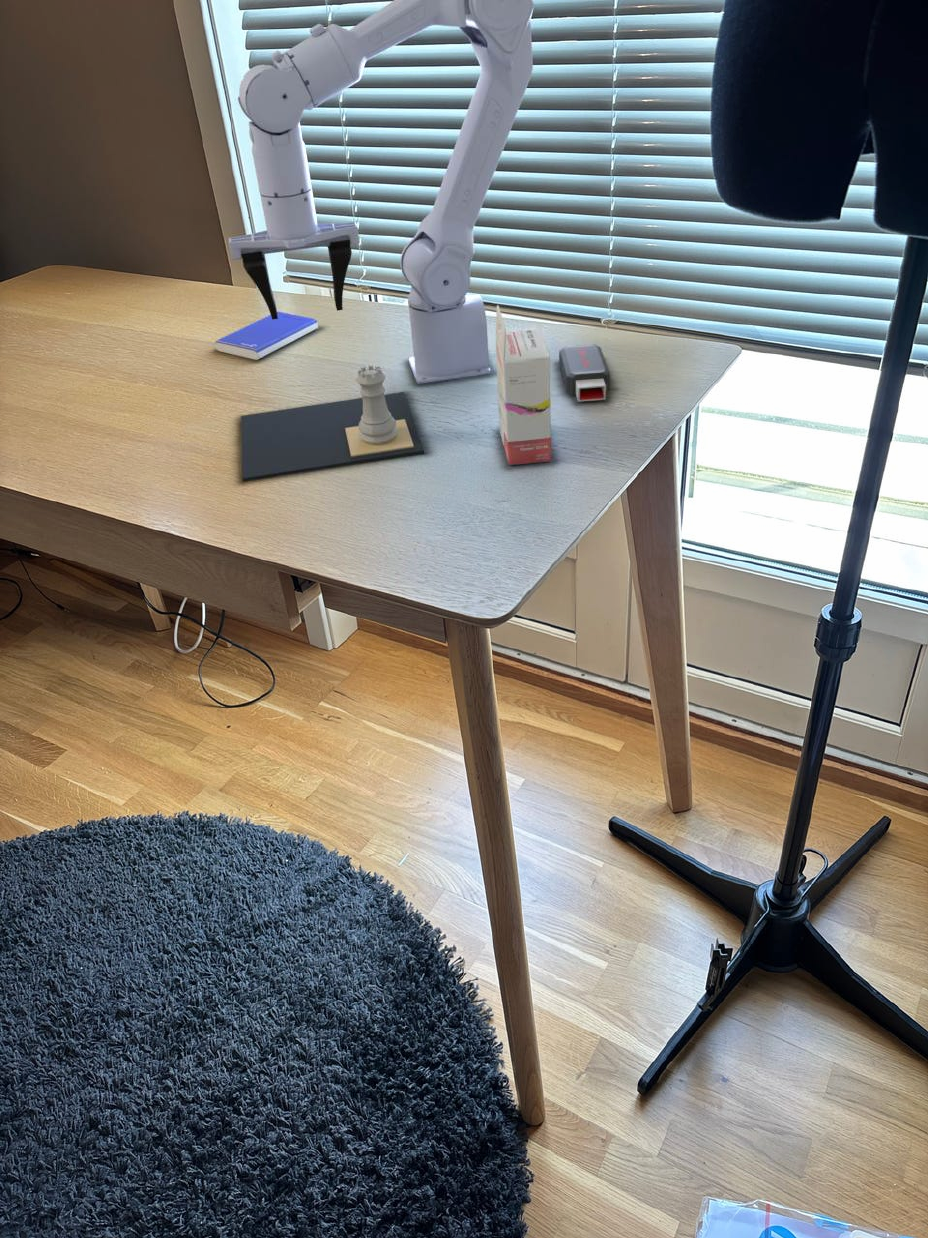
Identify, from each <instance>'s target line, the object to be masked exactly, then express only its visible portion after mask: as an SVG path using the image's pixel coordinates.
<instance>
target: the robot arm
mask: <svg viewBox="0 0 928 1238" xmlns="http://www.w3.org/2000/svg"><path fill="white" fill-rule="evenodd" d="M534 8H535V4H534V1H533V0H392V1H391V2H390V3H388V4H387V5H385V6H383V7H382V8H380V9H378V10H377V11H375V12H374V13H372V14H371V15H370V16H368V17H367V18H365V19H364V20H362V21H360V22H359V23H358V24H356V25H355V26H354V27H352V28H350V29H347V28H345V27H343V26H341V25H338V24H335V23H331V24H329V25H328V26H326V27H325V28H324V25H323V24H321V23H317V24H316V25H315V26H312V27H311V28H310V29H309V33H310V36H309V37H308V38H306V39H305V40H303V41H301V42H299V43H298V44H296V45H295V46H293V47H292V48H289V49H287V50H286V51H284V52H283V53H282V52H281V51H279V50H276V51H274V52H272V53H271V54H270V59H271V60H272V65H270V64H259V65H255V66H253V67H251V68H250V69H249V70H248V71H247V72H246V73H245V74H244V75H243V78H242V80H241V81H240V83H239V84H240V85H239V91H238V92H239V93H238V95H239V96H238V97H237V101H238V104H239V106H240V109H241V111H242V112H243V114H244V115H245V116H246V117H247V118H248V119H249V120H250V121H248V128H249V129H248V133H249V139H250V141H251V144H252V146H251V154H252V159H253V165H254V168H255V174H256V180H257V186H258V190H259V196H260V202H261V207H262V212H263V217H264V221H265V227H266V228H265V229H266V230H262V231H258V232H254V233H249V234H245V235H239V236H234V237H229V238H228V245H229V251H230V254H231V260H232V261H236V260H242V266H243V268H244V271H245V272H246V273H247V275H248V276H249V278H250V279H251V280H252V281H253V283H254V284H255V286H256V287H257V289H258V290H259V292H260V294H261V296H262V298H263V300H264V302H265V304H266V306H267V308H268V311H269V315H271V317H272V319H278V315H277V312H278V310H277V303H276V299H275V297H274V292H273V289H272V286H271V281H270V277H269V276H270V275H269V271H268V265H267V260H266V255H268V254H276V253H283V252H284V253H285V252H293V251H298V250H300V251H301V250H305V249H313V248H320V247H321V248H322V247H327V250H328V251H327V252H328V256H329V257H328V258H329V263H330V269H331V276H332V286H333V287H332V288H333V299H334V304H335V309H336V311H337V312H338V311H343V307H344V306H343V296H344V286H345V281H346V276H347V271H348V268H349V265H350V263H351V258H352V254H353V251H352V247H351V245H358V244H360V242H361V241H360V235H359V227H358V224H357V222H356V221H351V222H350V221H349V222H332V223H329V222H328V223H318V218H317V213H316V206H315V199H314V194H313V187H312V182H311V176H310V168H309V163H308V162H309V161H308V156H307V150H306V144H305V142H304V140H303V134H302V128H301V123H300V122H301V120H302V117H303V114H304V111H305V110H307V111H312V110H313V109H315V108H317V107H318V106H320V105H321V104H323V103H325V102H327V101H329V100H330V99H332V98H333V97H335V96H337V95H339V94H341V92H343V91H345V90H347V89H348V88H350V87H352V86H353V85H355V84H356V83H358V82H360V81H361V79H362V76H363V71H364V68H365V65H366V62H367V61H369V60H371V59H373V58H374V57H376V56H378V55H380V54H382V53H384V52H386V51H387V50H389V49H391V48H393V47H395V46H397V45H398V44H400V43H402V42H404V41H406V40H408V39H409V38H411V37H413V36H416V35H417V34H419V33H421V32H423V31H424V30H427V29H428V28H430V27H432V26H439V27H451V28H453V27H454V28H459V29H460V30H461V32H462V33H463V34H464V35H465V36H466V38H467V39H468V40H469V41H470V45H471V47H472V49H473V52H474V55H475V57H476V59H477V61H478V64H479V66H480V70H481V71H480V75H479V78H478V81H477V83H476V86H475V88H474V92H473V95H472V97H471V100H470V102H469V106H468V107H467V111H466V115H465V117H464V120H463V122H462V126H461V128H460V131H459V134H458V137H457V138H456V139H457V140H456V142H455V145H454V148H453V151H452V153H451V157H450V159H449V162H448V165H447V168H446V170H445V173H444V176H443V178H442V180H441V181H442V182H441V185H440V187H439V190H438V193H437V196H436V197H435V198H436V199H435V202H434V204H433V208H432V209H431V211H430V212H429V213H428V214H427V215H426V217H424V218H423V219H422V220H421V222H419V226H418V229H417V231H416V233H415V235H414V236H413V237H412V239H410V241H409V242H407V243H406V245H405V246H404V248H403V250H402V252H401V255H400V260H399V261H400V263H399V265H400V271H401V274H402V276H403V277H404V279H405V280H406V281H407V282H408V283H409V284H410V291H409V294H408V296H407V304H408V313H409V314H408V315H409V322H410V324H409V325H410V333H411V342H412V350H413V352H412V353H413V356H410V357H409V358H408V359H407V360H408V364H409V366H410V368H411V371H412V374H413V377H414V379H415V382H416V383H417V384H419V385H422V384H428V383H429V384H430V383H435V382H441V381H448V380H449V381H451V380H456V379H462V378H469V377H470V378H471V377H476V376H482V375H489V374H491V368H490V355H489V339H488V338H489V337H488V323H487V315H486V309H485V304H484V301H483V298H482V296H481V295H480V294H468V292H469V289H470V284H471V263H472V260H473V258H474V255H475V243H474V227H475V225H476V222H477V220H478V217H479V214H480V213H481V209H482V206H483V204H484V201H485V198H486V196H487V193H488V191H489V188H490V186H491V183H492V180H493V177H494V174H495V173H496V170H497V167H498V164H499V161H500V159H501V156H502V154H503V151H504V149H505V146H506V143H507V140H508V138H509V136H510V133H511V131H512V127H513V124H514V122H515V120H516V117H517V115H518V112H519V109H520V106H521V104H522V102H523V101H522V100H523V98H524V96H525V94H526V90H527V87H528V85H529V82H530V80H531V76H532V73H533V69H534V68H533V67H534V61H533V44H532V42H533V41H532V26H531V25H532V24H531V19H532V16H533V12H534Z"/></svg>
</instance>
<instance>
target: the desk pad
mask: <svg viewBox="0 0 928 1238" xmlns="http://www.w3.org/2000/svg"><path fill="white" fill-rule="evenodd" d="M384 397H385V401H386V405H387V408H388V411H389V412H390V413H391V416H392V417H393V418H394V419H395V421H396V428H397V429H398V433H397V435H396V437H395V438H394V439H393V440H392V441H390V442H388V443H384V444H377V445H373V444H368V443H366V442H364V441H363V440H362V439H361V438H360V437H359V432H360V430H359V429H358V428H359V422H360V421H361V416H362V415H363V398H362V397H360V398H353V399H352V398H351V399H346V400H339V401H334V402H333V401H332V402H325V403H319V404H313V405H306V406H299V407H298V406H297V407H293V408H285V409H279V410H271V411H266V412H258V413H252V414H245V415H241V416H240V436H241V437H240V439H241V440H240V441H241V443H240V444H241V481H242V482H249V481H255V480H261V479H268V478H273V477H275V478H276V477H281V476H287V475H292V474H301V473H305V472H313V471H314V472H315V471H319V470H325V469H332V468H339V467H345V466H351V465H358V464H364V463H371V462H377V461H384V460H390V459H396V458H402V457H411V456H414V455H421V454H422V455H423V454H425V449H424V445H423V443H422V440H421V437H420V435H419V432H418V429H417V426H416V423H415V420H414V417H413V414H412V412H411V409H410V407H409V403H408V399H407V397H406V394H405V391H400V392H393V393H387V394H384Z"/></svg>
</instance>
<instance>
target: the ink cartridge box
mask: <svg viewBox="0 0 928 1238" xmlns="http://www.w3.org/2000/svg"><path fill="white" fill-rule="evenodd" d="M495 318H496V319H495V357H496V376H497V379H496V380H497V397H498V400H497V401H498V423H499V425H498V426H499V434H500V437H501V441H502V445H503V449H504V452H505V456H506V460H507V462H508V465H509V466H514V465H523V464H524V465H525V464H535V463H547V462H551V461H552V430H551V429H552V423H551V422H552V421H551V419H552V417H551V416H552V415H551V355H550V353H549V350H548V346H547V344H546V341H545V339H544V336H543V333H542V331H541V329H540V327H531V328H523V329H513V330H506V326H505V323H504V318H503V315H502V313H501V309H500V305H499V304H497V305H496V316H495Z"/></svg>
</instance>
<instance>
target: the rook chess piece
mask: <svg viewBox="0 0 928 1238" xmlns="http://www.w3.org/2000/svg"><path fill="white" fill-rule="evenodd" d="M386 377H387V376H386V374H385V373H384V372H383V371H382V367H381V365H380V366H379V365H375V366H374V365H373V364H368V369H367V368H366V366H361V367H360V369H358V370H357V376H356V378H355V382H356V383H357V384H358V385H360V390H359V394H360V395H361V398H363V415H362V416H361V421H360V422H359V428H358V429H359V430H360V432H359V437H360V438H361V439H362V440H363V441H364V442H366V443H368V444H373V445H377V444H384V443H388V442H390V441H392V440H393V439H394V438H395V437H396V435H397V433H398V429H397V428H396V421H395V419H394V418H393V417H392V416H391V413H390V412H389V411H388V408H387V405H386V401H385V397H384V395H385V392H386V388H385V387H384V386H383V383H384V382H385V380H386Z"/></svg>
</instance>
